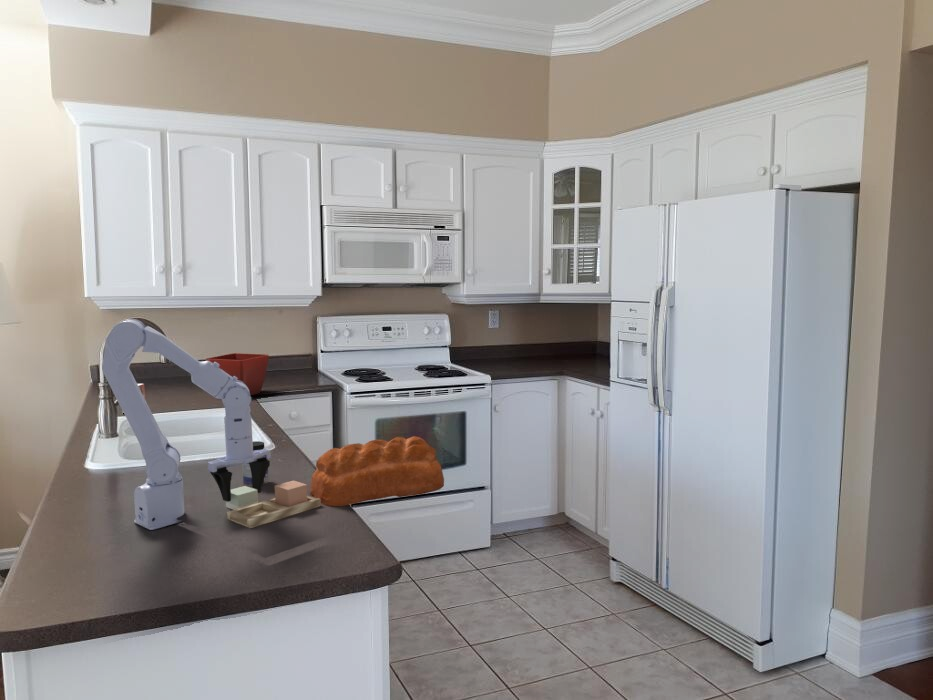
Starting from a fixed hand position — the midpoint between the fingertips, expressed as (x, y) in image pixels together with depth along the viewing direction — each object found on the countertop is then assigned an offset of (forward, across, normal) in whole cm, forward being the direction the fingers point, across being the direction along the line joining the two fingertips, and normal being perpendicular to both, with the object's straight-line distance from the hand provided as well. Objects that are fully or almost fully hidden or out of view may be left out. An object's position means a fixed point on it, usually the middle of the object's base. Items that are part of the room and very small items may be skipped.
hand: (242, 496), depth 162 cm
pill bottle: (+4, +12, +14) cm, 19 cm away
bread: (+4, +28, -14) cm, 32 cm away
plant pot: (+4, +83, +136) cm, 160 cm away
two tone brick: (+4, 0, 0) cm, 4 cm away
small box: (+4, +37, +135) cm, 140 cm away
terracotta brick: (+2, +7, -9) cm, 11 cm away
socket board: (+4, +2, -9) cm, 10 cm away
